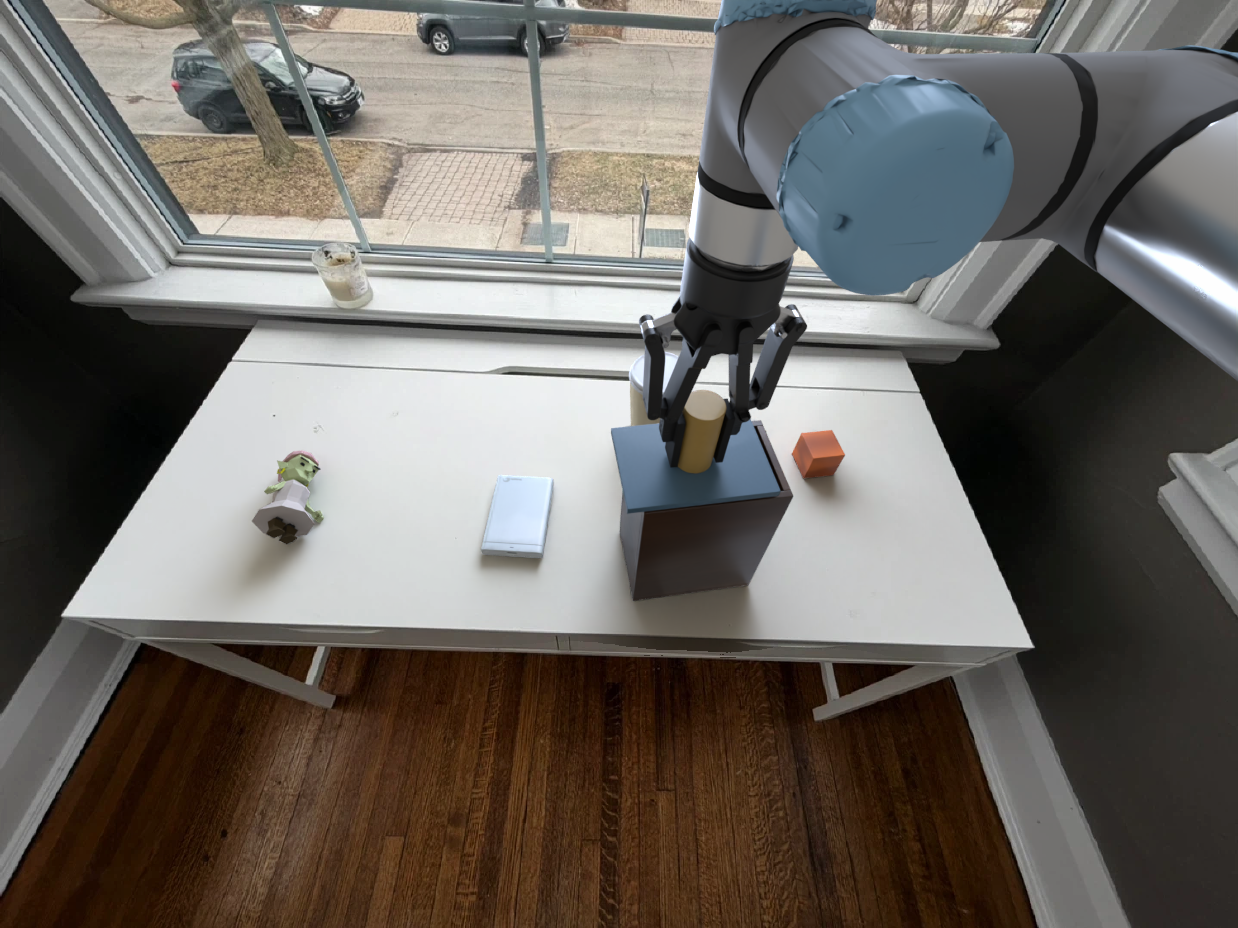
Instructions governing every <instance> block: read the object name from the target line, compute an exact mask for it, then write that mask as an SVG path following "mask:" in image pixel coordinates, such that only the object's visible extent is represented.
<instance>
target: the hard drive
mask: <svg viewBox="0 0 1238 928" xmlns="http://www.w3.org/2000/svg"><path fill="white" fill-rule="evenodd" d="M496 478H497V479H496V483H495V487H494V491H493V495H492V499H491V505H490V508H489V512H488V516H487V520H486V524H485V525H486V526H485V530H484V533H483V538H482V542H481V543H482V544H481V548H480V552H481V555H483V556H484V555H485V556H498V557H499V556H500V557H512V558H513V557H515V558H529V559H530V558H531V559H542V558H543V556H544V549H545V543H546V536H547V532H548V531H547V530H548V524H549V518H550V512H551V506H552V505H551V503H552V497H553V490H554V483H555V482H554V478H552V477H546V476H545V477H544V476H543V477H542V476H527V475H509V474H508V475H507V474H499V475H497V477H496Z"/></svg>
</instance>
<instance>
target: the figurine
mask: <svg viewBox="0 0 1238 928" xmlns="http://www.w3.org/2000/svg"><path fill="white" fill-rule="evenodd" d="M276 462H277V466H278V468H277V470H276V474H277V482H278V483H276V484H273V485H269V486H267V487H266V489H264V490H263V491H264V492H263V493H264V494H266V495H271V494H272V499H271V503H267V504H266V505H263V506H262V507H260V508H259V509H257V512H256V513H255V515H254V517H253V518H252V520H251V522H252V523H253V524H254V525H255V526H256V527H257V529H259V531H260V532H261V533H262V534H265V535H266V536H268V537H270V538H272V539H276V538H278V542H280V543H282V544H284V545H289V544H292V543H294V542H296V540H297V539H298V537H302V536H308V534H309V533H310V532H311V530H312V529H313V527H314V526H315V525H316V523H319V524H321V522H323V521H324V519H325V516H324V515H323V512H322V511H321V510H316V511H315V510H314V509H313V507H311V504H310V501H309V498H310V495H311V492H310V490H309V489H308V487H309V485H310V483H311V482H312V481H313V479H314V477H316V474H317V473H318V472H319V471H320V470H321V467H319V465H320V462H319V460H317V458H316V457H315V455H313V454H312V452H309V451H306V450H303V449H301V450H294V451H292V452H290V453H289V454H287V455H286V457H285V458H284V459H283V460H276ZM282 479H283V481H282ZM310 515H311V516H310ZM313 519H314V520H313ZM314 521H315V522H316V523H315V522H314Z"/></svg>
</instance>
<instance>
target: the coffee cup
mask: <svg viewBox="0 0 1238 928" xmlns="http://www.w3.org/2000/svg"><path fill="white" fill-rule="evenodd" d="M644 357H645V353H643V354H642V355H640V356H639V357H638V358H636V359H635V360H634V361H633V363H632V364H631V366H630V367H629V370H628V379H629V414H630V415H629V417H630V426H638V425H648V424H659V423H660V418H658V419H657V420H649V419H648V417H647V413H646V409H645V406H644V401H643V378H644ZM678 357H679V355H677V354H674V353H672V352H667V351H665V371H664V382H663V393H662V395H663V394H664V392H665V389H666V387H667V384H668V382H669V379H670V377H671V375H672V372H673V370H674V367H675V365H676V362H677V360H678Z"/></svg>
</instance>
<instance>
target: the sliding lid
mask: <svg viewBox="0 0 1238 928" xmlns="http://www.w3.org/2000/svg"><path fill="white" fill-rule="evenodd" d="M724 399H725V398H723V397H722V396H721V395H719V394H718V393H717V392H715V391H711V390H707V389H697V390H692V392H691V394H690V396H689V398H688V400H687V403H686V405H685V407H684V409H683V411H682V412H683V415H684V419H685V422H686V427H685V432H684V437H683V442H682V447H681V452H680V457H679V462H678V467H672V468H670V464H669V461H668V457H667V453H666V450H665V443H666V442H663V441H662V439H661V435H660V431H659V424H648V425H638V426H631V425H629V426H619V427H611V428H610V435H611V440H612V445H613V450H614V456H615V460H616V464H617V469H618V475H619V480H620V485H621V489H622V490H623V495H624V500H625V505H626V510H627V514H629V513H637V512H646V511H654V510H663V509H671V508H680V507H688V506H697V505H705V504H714V503H722V502H731V501H739V500H748V499H756V498H765V497H773V496H779V494H780V492H781V491H780V488H779V486H778V484H777V481H776V479H775V476H774V474H773V472H772V469H771V467H770V464H769V462H768V459H767V457H766V455H765V452H764V450H763V447H762V445H761V443H760V440H759V438H758V435H757V433H756V431H755V428H754V426H753V423H752V421H753V420H752V418H751V419H750V420H749V421H747V422H744V423H742V425H741V428H740V431H739V432H738V434H737V435H731V436H730V440H729V443H728V446H727V450H726V453H725V456H724V460H723V462H720V463H716V462H715V459H714V453H715V449H716V445H717V442H718V438H719V434H720V431H721V427H722V423H723V420H724V416H725V412H726V403H725V401H724ZM622 490H621V491H622Z"/></svg>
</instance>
